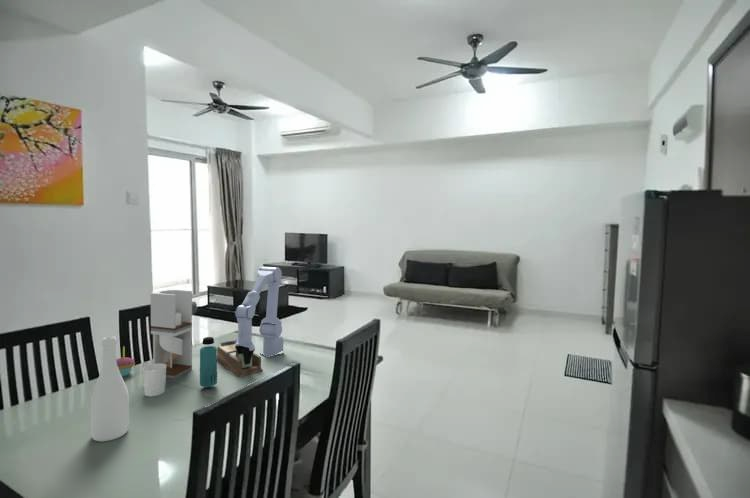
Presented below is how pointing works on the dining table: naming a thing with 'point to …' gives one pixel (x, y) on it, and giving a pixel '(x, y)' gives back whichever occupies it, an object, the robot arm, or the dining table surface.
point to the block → (241, 358)
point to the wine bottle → (109, 398)
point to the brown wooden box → (238, 363)
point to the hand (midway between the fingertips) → (244, 362)
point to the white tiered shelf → (172, 330)
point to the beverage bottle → (208, 363)
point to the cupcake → (125, 364)
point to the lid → (228, 346)
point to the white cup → (154, 379)
